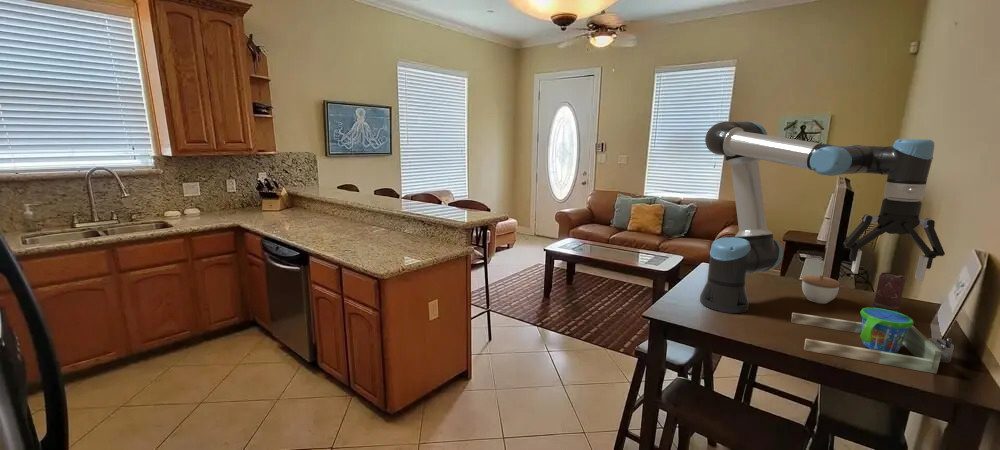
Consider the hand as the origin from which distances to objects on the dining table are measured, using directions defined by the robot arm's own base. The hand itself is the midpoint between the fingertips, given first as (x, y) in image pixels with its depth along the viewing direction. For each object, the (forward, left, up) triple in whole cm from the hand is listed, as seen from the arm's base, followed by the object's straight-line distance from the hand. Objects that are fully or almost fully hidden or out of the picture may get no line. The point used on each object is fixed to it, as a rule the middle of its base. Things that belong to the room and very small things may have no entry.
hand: (885, 275), depth 113 cm
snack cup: (+1, -1, -21) cm, 21 cm away
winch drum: (+13, -1, -21) cm, 25 cm away
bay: (-5, -1, -21) cm, 21 cm away
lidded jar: (-6, +34, -21) cm, 40 cm away
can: (+11, +28, -21) cm, 37 cm away
